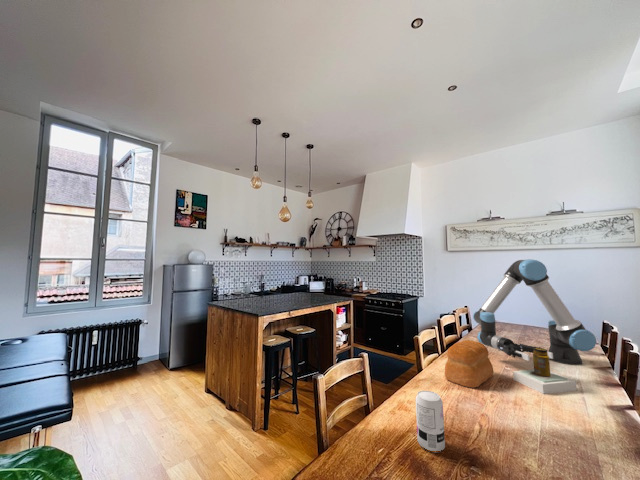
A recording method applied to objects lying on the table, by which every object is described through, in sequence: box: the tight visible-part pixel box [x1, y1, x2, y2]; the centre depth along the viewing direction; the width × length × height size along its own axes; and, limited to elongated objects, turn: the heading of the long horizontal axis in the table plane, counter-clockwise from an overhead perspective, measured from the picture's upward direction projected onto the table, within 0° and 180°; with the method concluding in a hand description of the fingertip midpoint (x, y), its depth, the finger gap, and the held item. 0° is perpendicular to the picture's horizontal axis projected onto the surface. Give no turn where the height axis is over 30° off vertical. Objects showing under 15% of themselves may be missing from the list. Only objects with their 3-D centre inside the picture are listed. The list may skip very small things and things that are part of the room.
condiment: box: [528, 347, 554, 379], centre depth 126 cm, size 7×8×12 cm
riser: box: [512, 369, 578, 395], centre depth 126 cm, size 18×15×5 cm
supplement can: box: [415, 390, 446, 452], centre depth 85 cm, size 8×8×15 cm
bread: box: [444, 339, 494, 389], centre depth 135 cm, size 16×26×17 cm, turn 129°
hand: (540, 356), depth 127 cm, fingers open, 13 cm apart
